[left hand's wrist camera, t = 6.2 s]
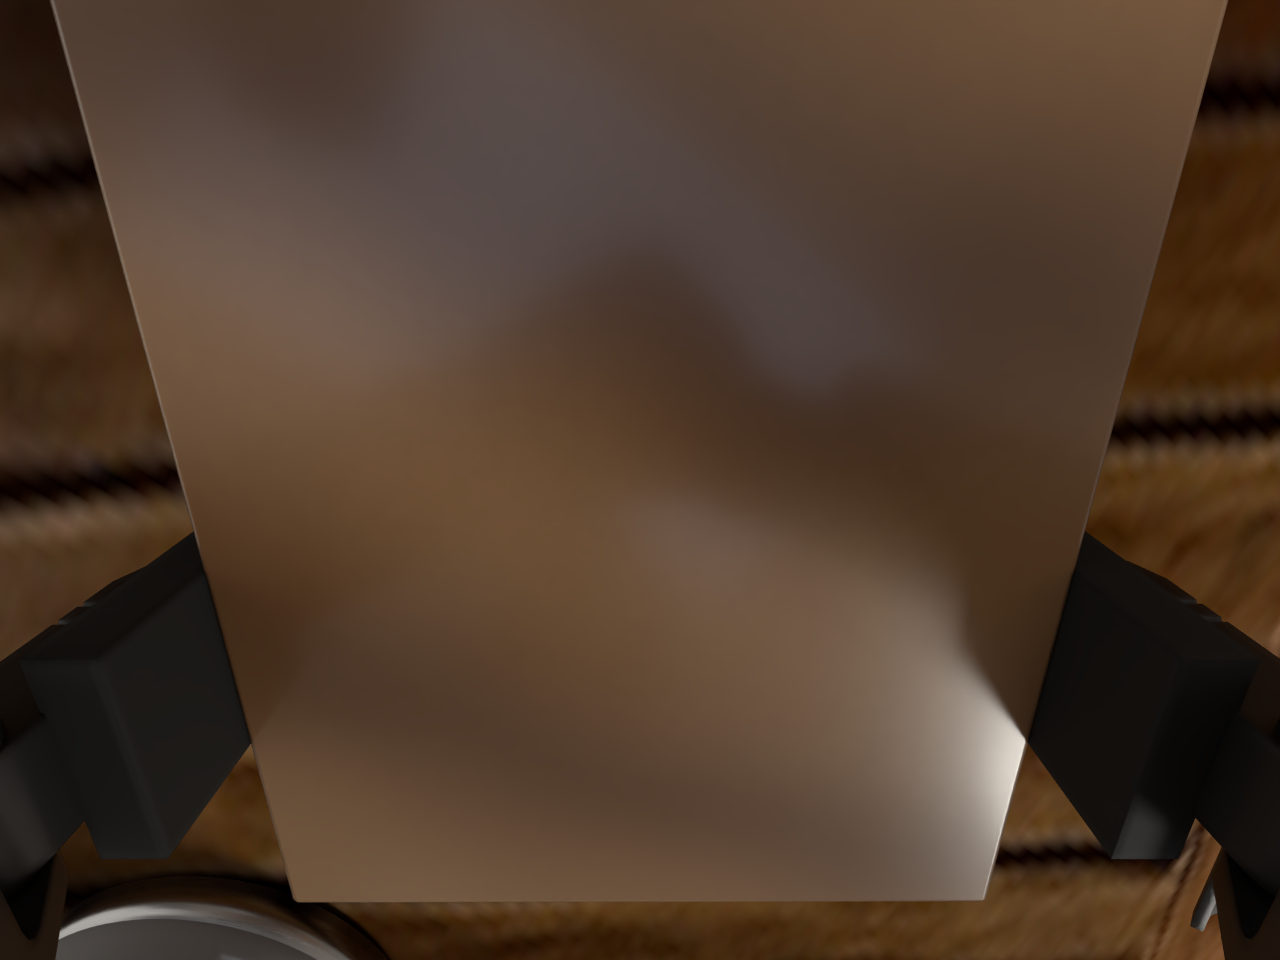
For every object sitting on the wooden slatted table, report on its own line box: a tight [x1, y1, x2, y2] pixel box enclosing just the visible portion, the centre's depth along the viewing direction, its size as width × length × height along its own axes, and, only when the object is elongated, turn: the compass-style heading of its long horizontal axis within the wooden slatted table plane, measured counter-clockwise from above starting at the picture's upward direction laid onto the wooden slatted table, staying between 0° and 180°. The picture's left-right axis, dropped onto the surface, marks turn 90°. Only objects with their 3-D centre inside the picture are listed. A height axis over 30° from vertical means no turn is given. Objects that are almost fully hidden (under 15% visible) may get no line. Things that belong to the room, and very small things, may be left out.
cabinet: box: [50, 0, 1228, 902], centre depth 12 cm, size 21×11×12 cm, turn 0°
